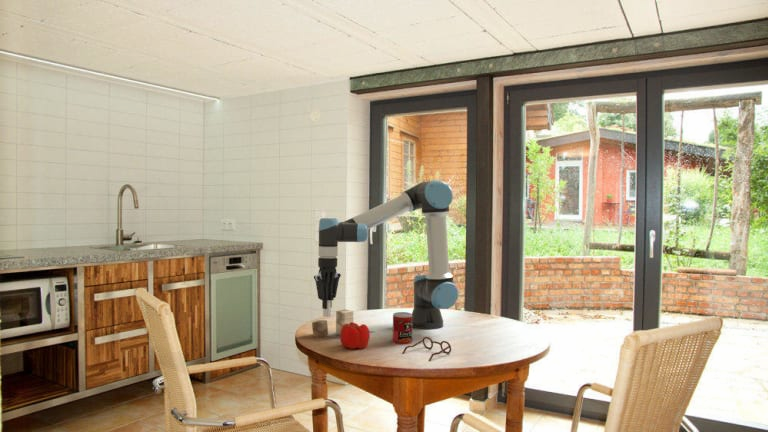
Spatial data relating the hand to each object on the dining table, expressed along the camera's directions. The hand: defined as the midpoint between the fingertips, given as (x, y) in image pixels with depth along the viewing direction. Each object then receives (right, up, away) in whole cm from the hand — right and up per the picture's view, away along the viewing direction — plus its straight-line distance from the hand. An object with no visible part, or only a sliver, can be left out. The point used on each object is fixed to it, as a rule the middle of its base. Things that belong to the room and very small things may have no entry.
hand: (326, 316), depth 204 cm
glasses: (+38, -11, -16) cm, 43 cm away
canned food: (+30, -10, +1) cm, 32 cm away
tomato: (+12, -10, -9) cm, 18 cm away
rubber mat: (+9, -10, +11) cm, 17 cm away
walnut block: (-3, -9, +7) cm, 12 cm away
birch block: (+6, -9, +8) cm, 14 cm away
